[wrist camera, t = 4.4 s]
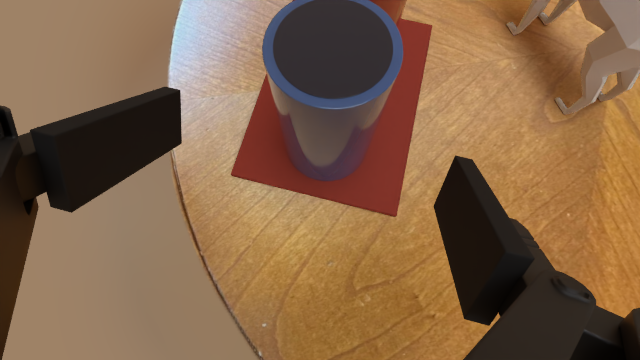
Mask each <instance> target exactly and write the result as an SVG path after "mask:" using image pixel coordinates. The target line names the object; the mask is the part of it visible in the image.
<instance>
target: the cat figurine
mask: <svg viewBox="0 0 640 360" xmlns="http://www.w3.org/2000/svg"><path fill="white" fill-rule="evenodd" d="M549 1H550V0H532V2H531V4H530V6H529V7H528V9H527V11H526V13H525V14H524V16H523V18H522V20H521V21H520V23H519V25H518V27H516V26H515V25H514V24H513V22H509V23H507V24H506V25H507V26H508V28H509V29H510V31H511V32H512V34H513V35H516V34H519V33H520V32H522V31H523V30H524V29H525V28H526V27H527V26H528V25H529V24H530V23H531V22H532V21H533V20H534V19H535V18H536V17H537V16H539V18H540V19H541V20H542V22H543V23H544V25H547V24H550V23H551V22H553V21H555V20H556V19H557V18H558V17H559V16H560V15H561V14H562V13H564V12H565V11H566V10H567V9H568V8H569V7H570V6H571V5H573V4H574V3H575V2H576V1H577V0H560V1H559V3H558V4H557V6H556V7H555V9H554V10H553V12H552V13H551V15H550V16H549V17H548V16H547V15H546V14H545V13H544V12H542V11H544V9H545V8H546V6H547V4H548V3H549ZM579 3H580V5H581V8H582V10H583V13H584V15H585V18H586V20H588V21H590V22H591V23H593V24H595V25H597V26H598V27H600V28H601V29H602V30H604V31H605V33H603V34H602V35H601V36H599V37H598V38H596V39H595V40H594V41H592V42H591V43H589V44H588V45H587V48H586V52H585V56H584V60H583V64H582V68H581V85H582V97H581V98H580V99H579V100H577V101H576V102H575V103H574V104H573V105H571V106H570V107H569V108H567V107H566V105H565V104H564V102H563V101H562V99H561V98H560V97H558V98H555V101H556V103H557V104H558V106H559V107H560V109H561V110H562V112H563V113H564V115H565V114H570V113H574V112H576V111H578V110H580V109H582V108H584V107H585V106H587V105H589V104H591V103H593V102H595V101H596V99H597V97H598V99H599V100H600V102H601V101H605V100H609V99H612V98H614V97H616V96H618V95H619V94H621V93H623V92H625V91H627V90H629V89H631V88H632V86H633V84H634V83H635V81H636V79H637V78H638V76H639V74H640V0H579ZM615 73H617V82H618V84H617V85H616V86H615V87H613V88H612V89H611V90H610V91H609V92H608V93H607V94H603V93H602V92H601V90H602V88H603V86H604V84H605V82H606V80H607V77H608V76H609V75H612V74H615Z"/></svg>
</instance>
